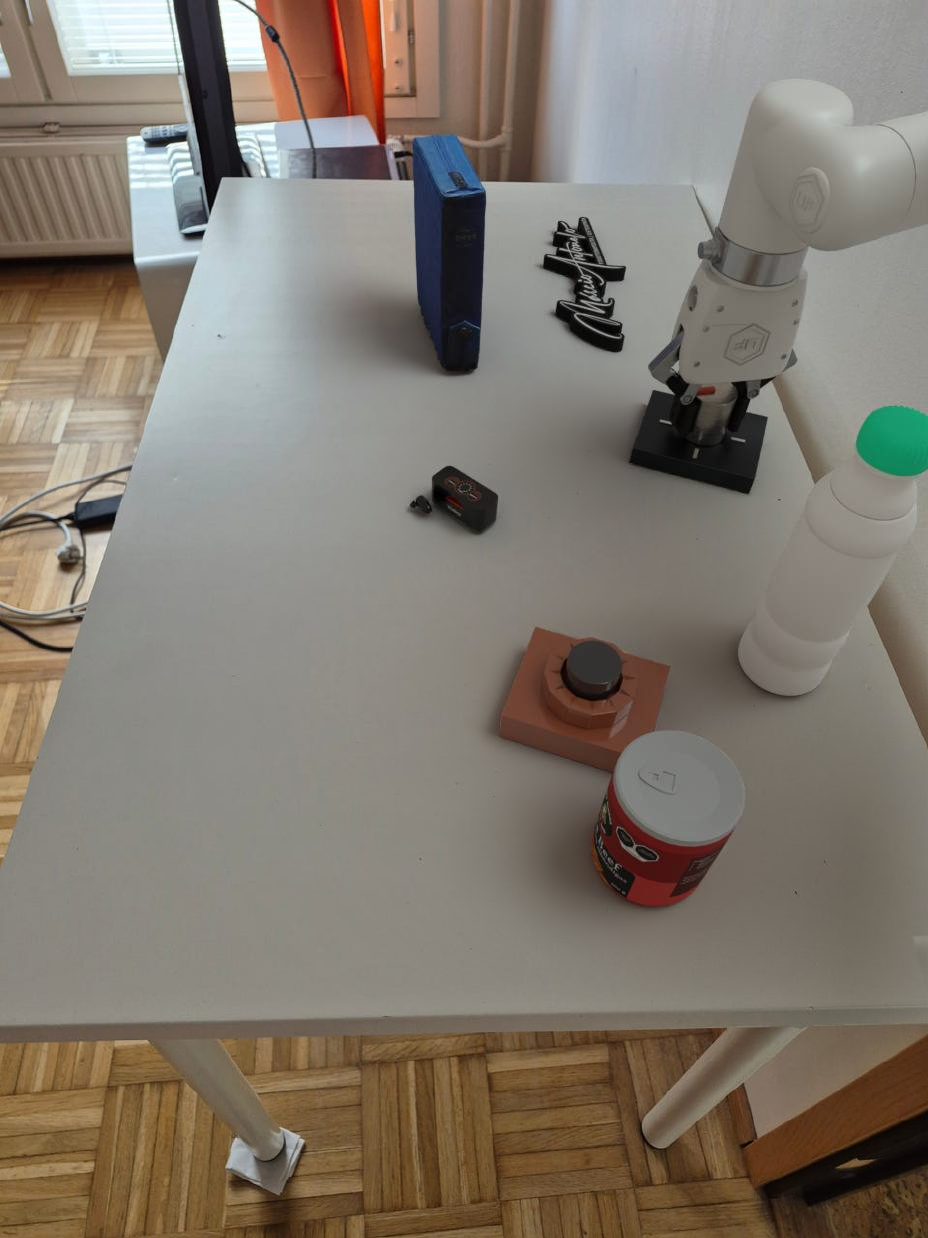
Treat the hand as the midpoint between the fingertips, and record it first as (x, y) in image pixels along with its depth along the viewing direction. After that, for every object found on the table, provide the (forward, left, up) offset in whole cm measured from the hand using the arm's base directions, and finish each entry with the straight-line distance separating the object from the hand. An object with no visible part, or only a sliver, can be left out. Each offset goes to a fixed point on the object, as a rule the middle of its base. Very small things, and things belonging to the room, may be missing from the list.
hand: (704, 424), depth 88 cm
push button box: (+3, +35, -3) cm, 35 cm away
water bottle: (-11, +25, -3) cm, 27 cm away
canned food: (-4, +45, -3) cm, 46 cm away
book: (+30, -8, -3) cm, 31 cm away
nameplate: (+18, -25, -3) cm, 31 cm away
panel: (0, 0, -3) cm, 3 cm away
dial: (0, 0, -1) cm, 1 cm away
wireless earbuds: (+20, +18, -3) cm, 27 cm away
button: (+3, +35, +2) cm, 35 cm away
